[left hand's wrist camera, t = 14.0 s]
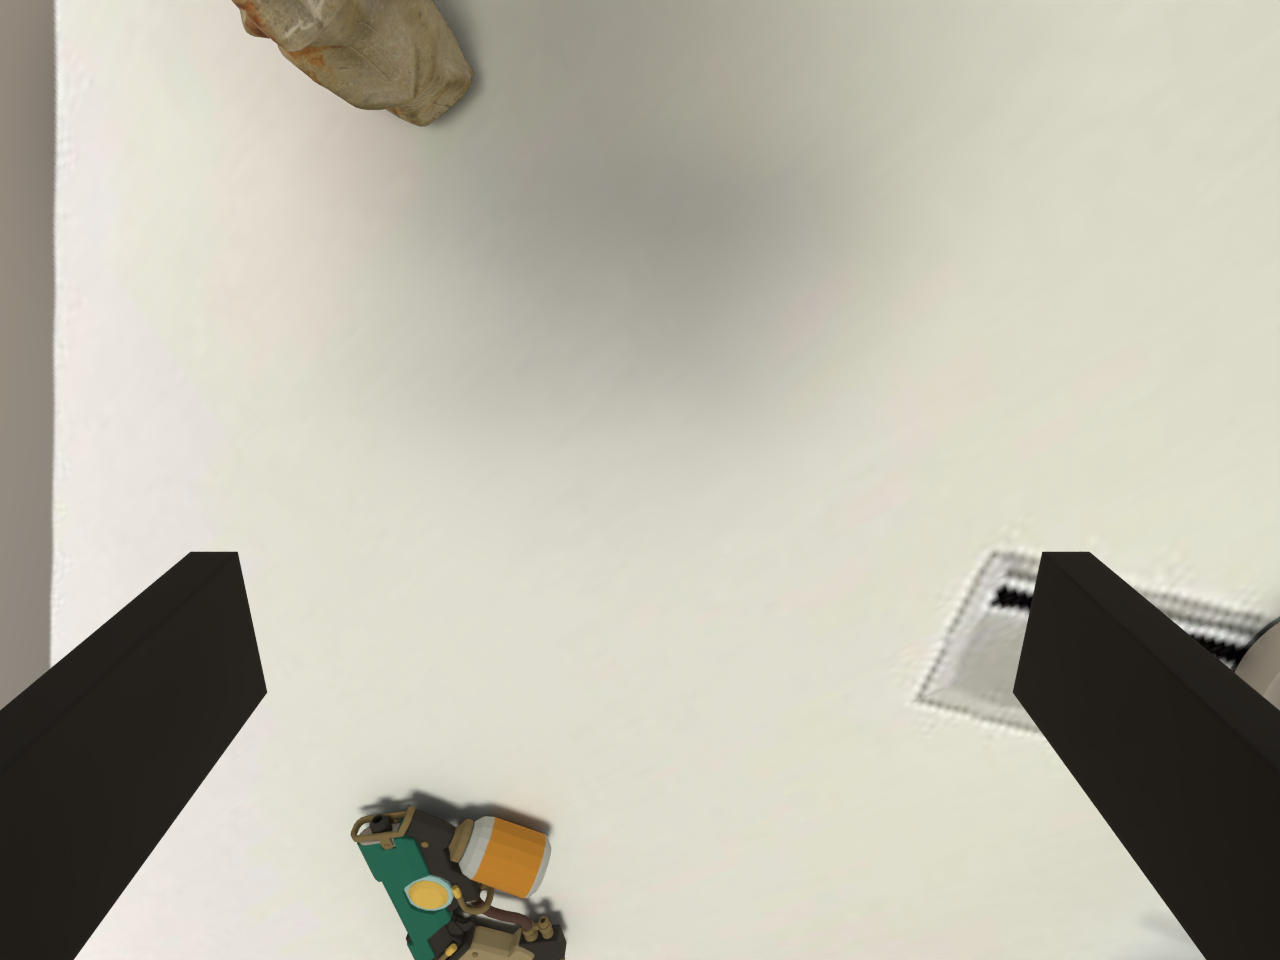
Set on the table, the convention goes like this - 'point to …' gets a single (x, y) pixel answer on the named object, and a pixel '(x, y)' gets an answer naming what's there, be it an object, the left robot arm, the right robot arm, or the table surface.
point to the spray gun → (460, 883)
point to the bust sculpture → (1263, 666)
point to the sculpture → (369, 51)
